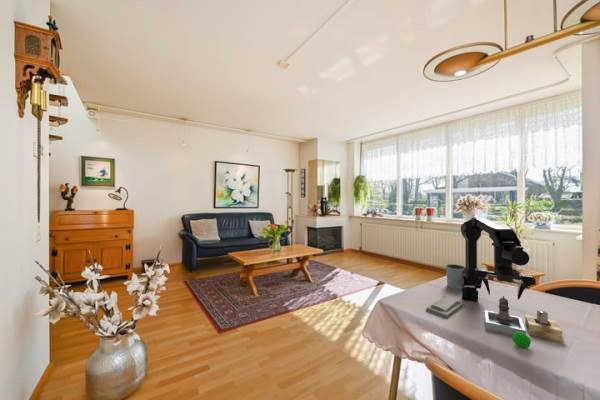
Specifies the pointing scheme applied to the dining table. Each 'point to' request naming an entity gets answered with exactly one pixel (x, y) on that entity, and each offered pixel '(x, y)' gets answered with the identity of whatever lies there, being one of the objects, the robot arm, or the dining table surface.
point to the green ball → (521, 339)
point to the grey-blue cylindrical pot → (454, 275)
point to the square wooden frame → (543, 328)
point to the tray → (492, 325)
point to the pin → (542, 317)
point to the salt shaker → (503, 313)
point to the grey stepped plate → (445, 307)
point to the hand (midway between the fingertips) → (503, 296)
